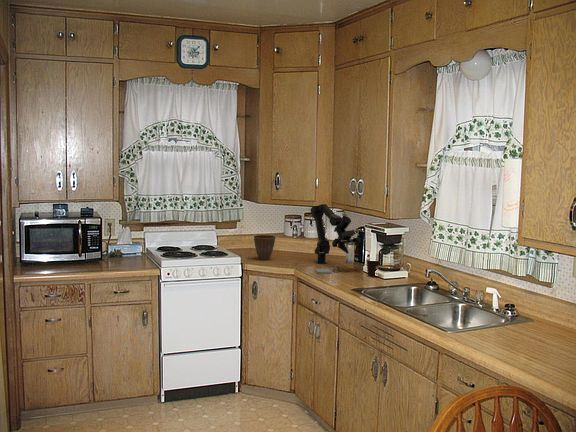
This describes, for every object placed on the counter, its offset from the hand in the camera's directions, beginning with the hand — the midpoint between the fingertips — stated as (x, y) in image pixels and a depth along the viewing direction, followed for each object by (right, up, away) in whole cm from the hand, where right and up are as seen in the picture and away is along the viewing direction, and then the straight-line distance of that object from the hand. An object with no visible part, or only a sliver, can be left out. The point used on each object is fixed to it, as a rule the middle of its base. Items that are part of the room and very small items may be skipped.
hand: (351, 252), depth 374 cm
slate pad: (-18, -12, -2) cm, 21 cm away
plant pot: (-56, -7, +39) cm, 69 cm away
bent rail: (-9, -12, +2) cm, 15 cm away
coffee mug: (+14, -14, -10) cm, 22 cm away
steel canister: (-1, -6, +2) cm, 7 cm away
